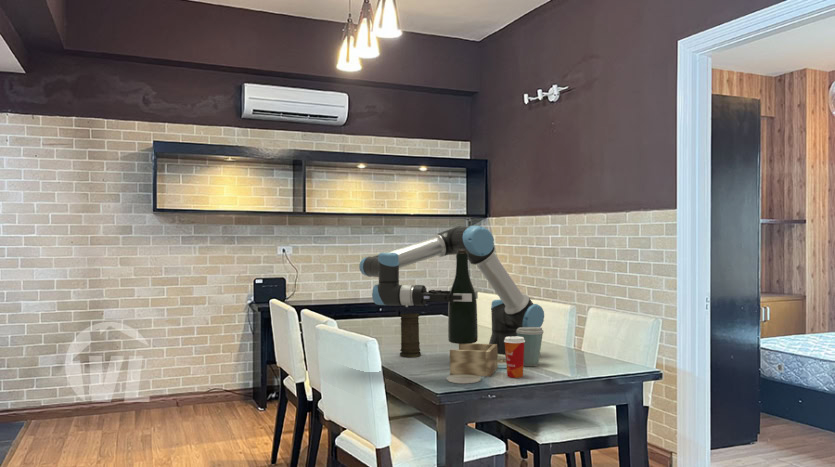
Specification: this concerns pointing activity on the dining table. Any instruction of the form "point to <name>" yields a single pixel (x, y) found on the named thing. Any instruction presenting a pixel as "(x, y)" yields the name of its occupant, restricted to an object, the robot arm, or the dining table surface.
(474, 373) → the wooden box
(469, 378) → the coaster
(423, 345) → the dining table surface
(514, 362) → the paper cup
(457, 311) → the dark green wine bottle
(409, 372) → the dining table surface
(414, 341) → the container
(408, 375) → the dining table surface
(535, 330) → the disposable coffee cup
